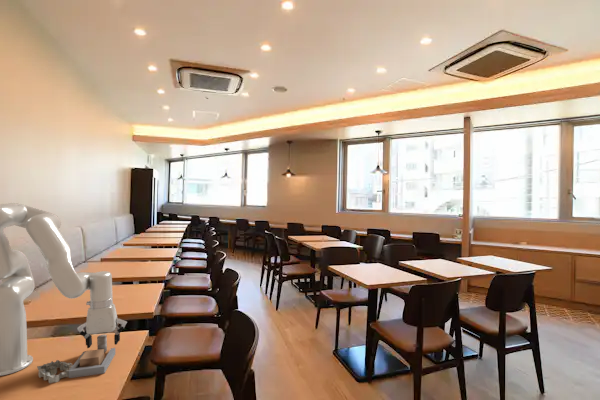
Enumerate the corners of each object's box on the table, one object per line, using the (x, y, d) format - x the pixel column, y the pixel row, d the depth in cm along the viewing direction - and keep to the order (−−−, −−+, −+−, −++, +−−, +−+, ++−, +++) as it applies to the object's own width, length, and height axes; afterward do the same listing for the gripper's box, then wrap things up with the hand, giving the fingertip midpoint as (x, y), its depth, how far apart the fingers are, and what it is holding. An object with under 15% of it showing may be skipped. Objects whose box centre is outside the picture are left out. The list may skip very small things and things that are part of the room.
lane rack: (68, 378, 110) (68, 371, 109) (83, 357, 123) (83, 351, 122) (104, 373, 113) (104, 366, 112) (115, 353, 126) (115, 347, 125)
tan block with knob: (79, 373, 113) (79, 355, 112) (95, 351, 128) (94, 335, 127) (99, 370, 114) (98, 353, 114) (111, 349, 129) (111, 333, 129)
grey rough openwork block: (74, 375, 112) (74, 364, 112) (49, 386, 105) (49, 374, 105) (60, 365, 117) (60, 355, 117) (35, 376, 111) (35, 364, 111)
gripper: (72, 309, 120) (74, 352, 121) (123, 304, 125) (124, 346, 126) (80, 302, 127) (82, 343, 128) (128, 297, 132) (129, 337, 133)
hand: (103, 344), depth 127 cm, fingers open, 9 cm apart
